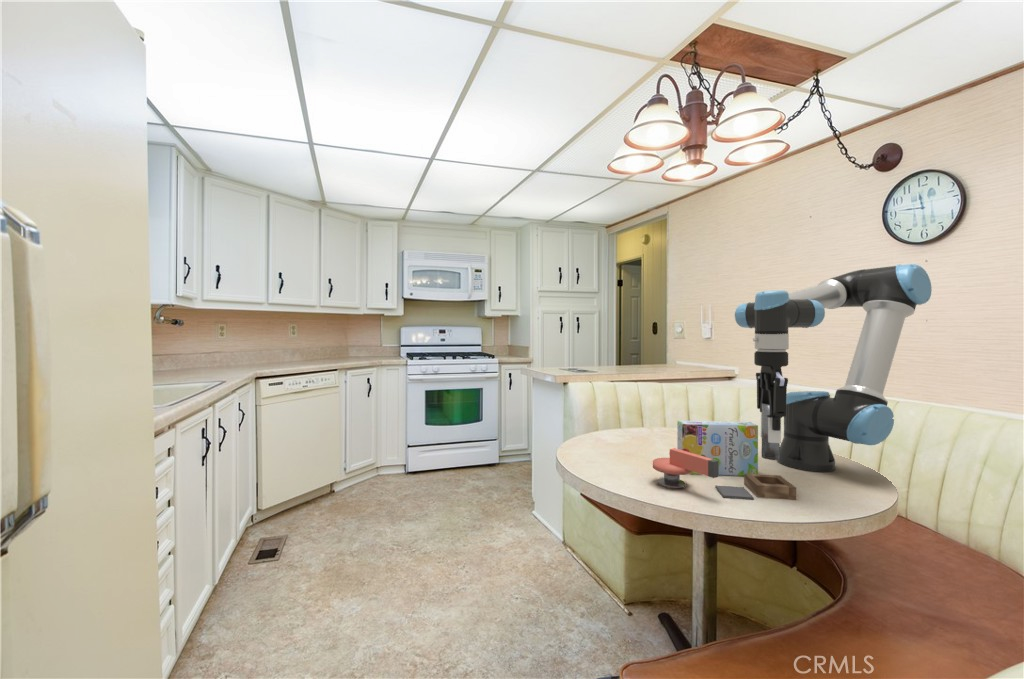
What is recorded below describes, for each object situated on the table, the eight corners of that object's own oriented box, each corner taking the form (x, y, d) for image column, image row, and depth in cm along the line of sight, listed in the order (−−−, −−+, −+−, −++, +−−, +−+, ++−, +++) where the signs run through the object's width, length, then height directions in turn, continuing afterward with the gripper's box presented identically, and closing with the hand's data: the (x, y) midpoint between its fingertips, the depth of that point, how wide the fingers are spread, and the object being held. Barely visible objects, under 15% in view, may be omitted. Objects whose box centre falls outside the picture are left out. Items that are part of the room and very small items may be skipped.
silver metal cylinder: (775, 455, 112) (775, 403, 111) (782, 460, 108) (782, 406, 107) (759, 455, 112) (759, 402, 112) (765, 459, 108) (765, 405, 108)
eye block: (780, 486, 114) (780, 475, 114) (796, 499, 105) (796, 487, 105) (744, 484, 115) (744, 473, 115) (757, 497, 106) (757, 485, 106)
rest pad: (743, 489, 112) (743, 487, 112) (753, 499, 105) (753, 497, 105) (715, 487, 113) (715, 485, 113) (723, 497, 106) (723, 495, 106)
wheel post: (682, 480, 118) (682, 466, 118) (688, 489, 111) (688, 474, 111) (656, 478, 119) (656, 464, 119) (660, 488, 112) (660, 473, 112)
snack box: (749, 471, 127) (750, 421, 126) (758, 477, 121) (759, 425, 121) (676, 468, 129) (677, 419, 129) (681, 474, 123) (682, 423, 123)
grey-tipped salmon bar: (728, 479, 107) (728, 458, 106) (703, 487, 101) (703, 464, 101) (668, 460, 122) (669, 442, 122) (644, 466, 117) (645, 446, 117)
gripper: (743, 349, 118) (743, 431, 119) (769, 352, 102) (768, 448, 102) (772, 349, 117) (772, 432, 118) (803, 352, 100) (802, 449, 101)
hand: (770, 439), depth 110 cm, fingers closed on silver metal cylinder, 4 cm apart
